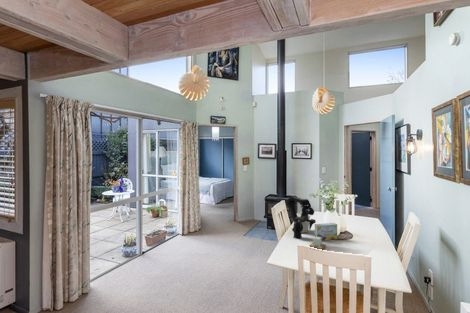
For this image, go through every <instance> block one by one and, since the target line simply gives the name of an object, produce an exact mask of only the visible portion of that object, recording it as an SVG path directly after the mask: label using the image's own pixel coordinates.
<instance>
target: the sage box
mask: <svg viewBox="0 0 470 313" xmlns="http://www.w3.org/2000/svg"><path fill="white" fill-rule="evenodd" d="M322 241H323V240H322V238H321V237H317V236H316V237H315V236H314V238H313V242H314V245H315V246H321V245H322V244H323V242H322Z"/></svg>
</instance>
